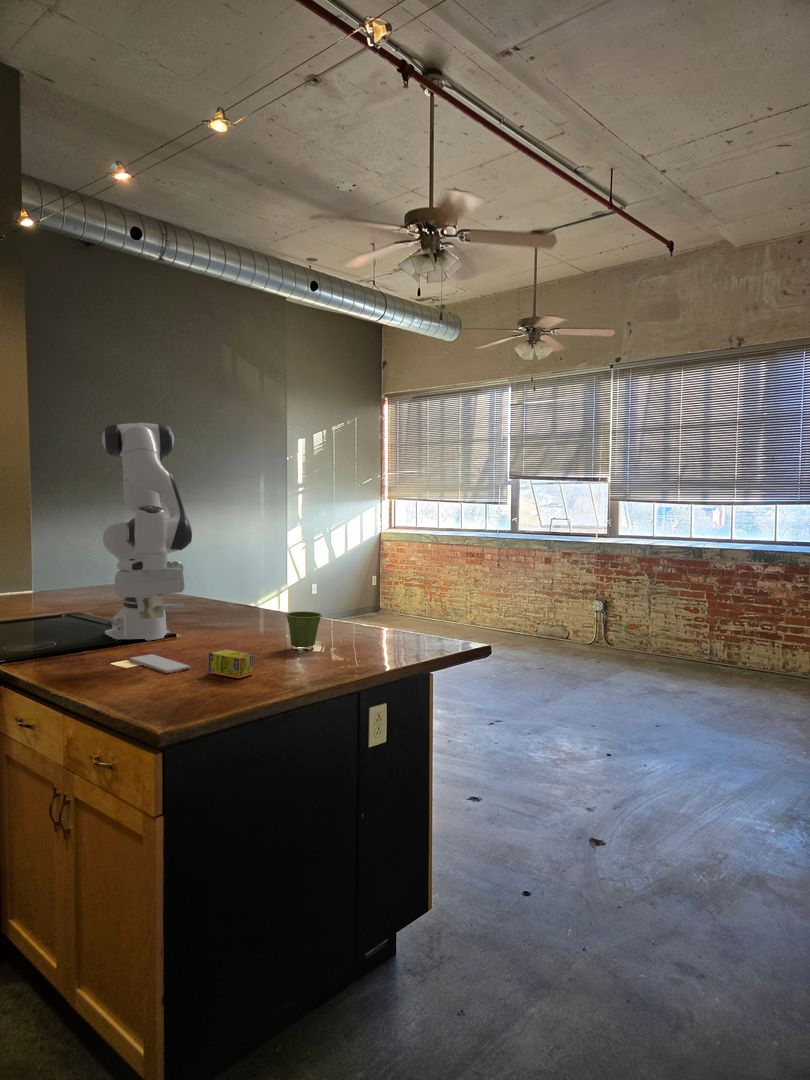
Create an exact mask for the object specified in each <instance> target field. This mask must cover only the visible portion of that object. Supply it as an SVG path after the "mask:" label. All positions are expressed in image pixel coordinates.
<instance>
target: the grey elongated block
mask: <svg viewBox="0 0 810 1080" xmlns="http://www.w3.org/2000/svg"><path fill="white" fill-rule="evenodd" d="M142 601H143V603H144V605H147V611H144V612H141V611H140V610H139V604H138V615H139V619H153V618H162V617H164V613H163V610H164V611H167V610H168V611H169V610H177V609H185V608H186V607H185V603H169V604H168V603H167V604H166V603H165V604H164V601H163V600H162V596H159V597H144V600H142Z"/></svg>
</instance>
